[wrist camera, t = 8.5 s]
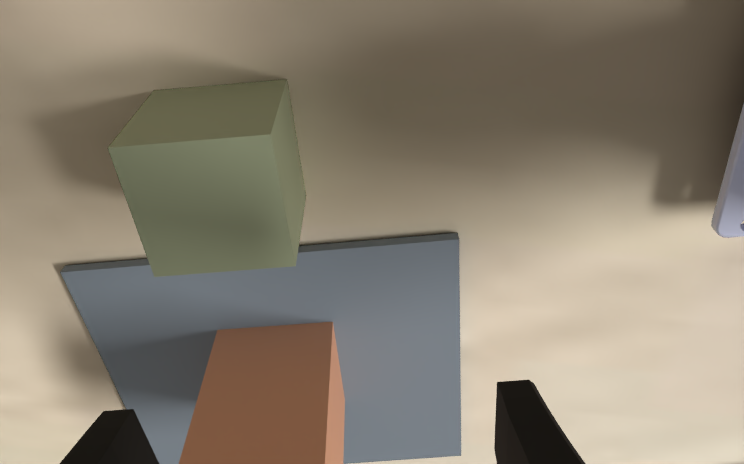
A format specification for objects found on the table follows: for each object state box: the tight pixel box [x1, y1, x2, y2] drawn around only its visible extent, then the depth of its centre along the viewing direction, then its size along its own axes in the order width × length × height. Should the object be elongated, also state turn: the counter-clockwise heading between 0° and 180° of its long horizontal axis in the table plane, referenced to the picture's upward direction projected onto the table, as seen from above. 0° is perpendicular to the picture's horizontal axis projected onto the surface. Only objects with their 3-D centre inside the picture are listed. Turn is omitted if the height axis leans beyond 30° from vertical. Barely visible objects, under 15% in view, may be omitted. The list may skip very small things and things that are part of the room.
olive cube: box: [108, 79, 306, 277], centre depth 17 cm, size 4×4×4 cm
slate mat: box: [60, 233, 461, 464], centre depth 24 cm, size 14×12×1 cm
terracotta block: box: [179, 322, 345, 464], centre depth 21 cm, size 4×4×6 cm
